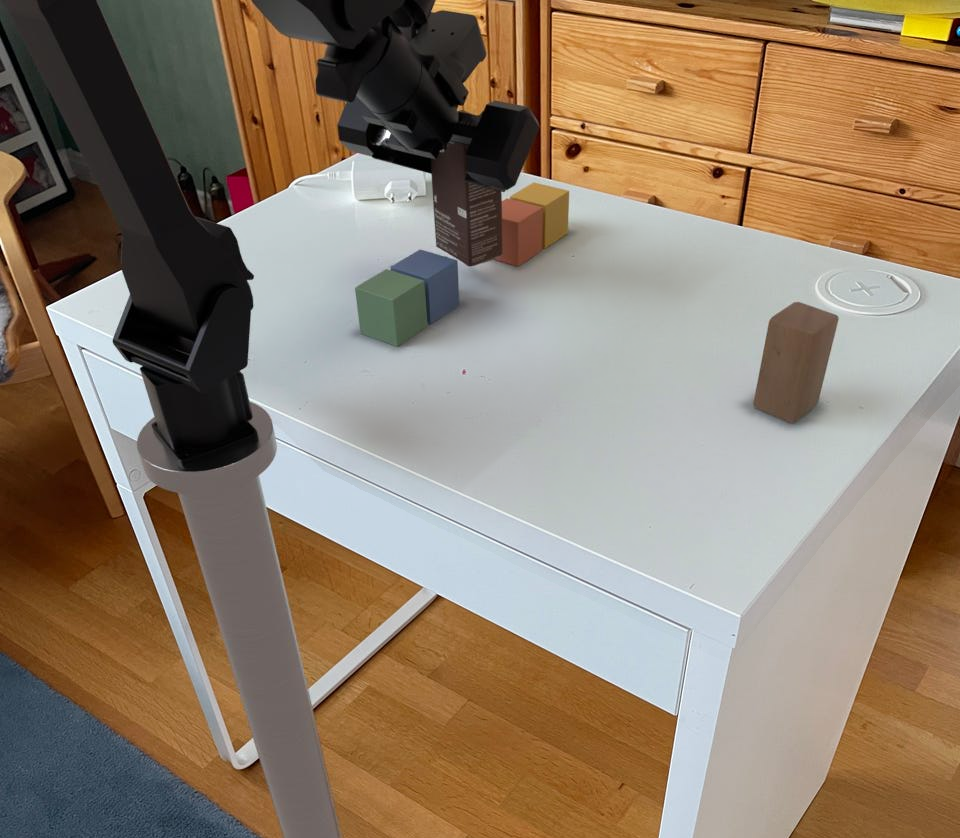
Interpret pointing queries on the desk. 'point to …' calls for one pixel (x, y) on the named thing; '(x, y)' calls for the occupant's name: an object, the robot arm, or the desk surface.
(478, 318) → the desk surface
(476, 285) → the desk surface
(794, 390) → the wooden block
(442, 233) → the box
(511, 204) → the block line
